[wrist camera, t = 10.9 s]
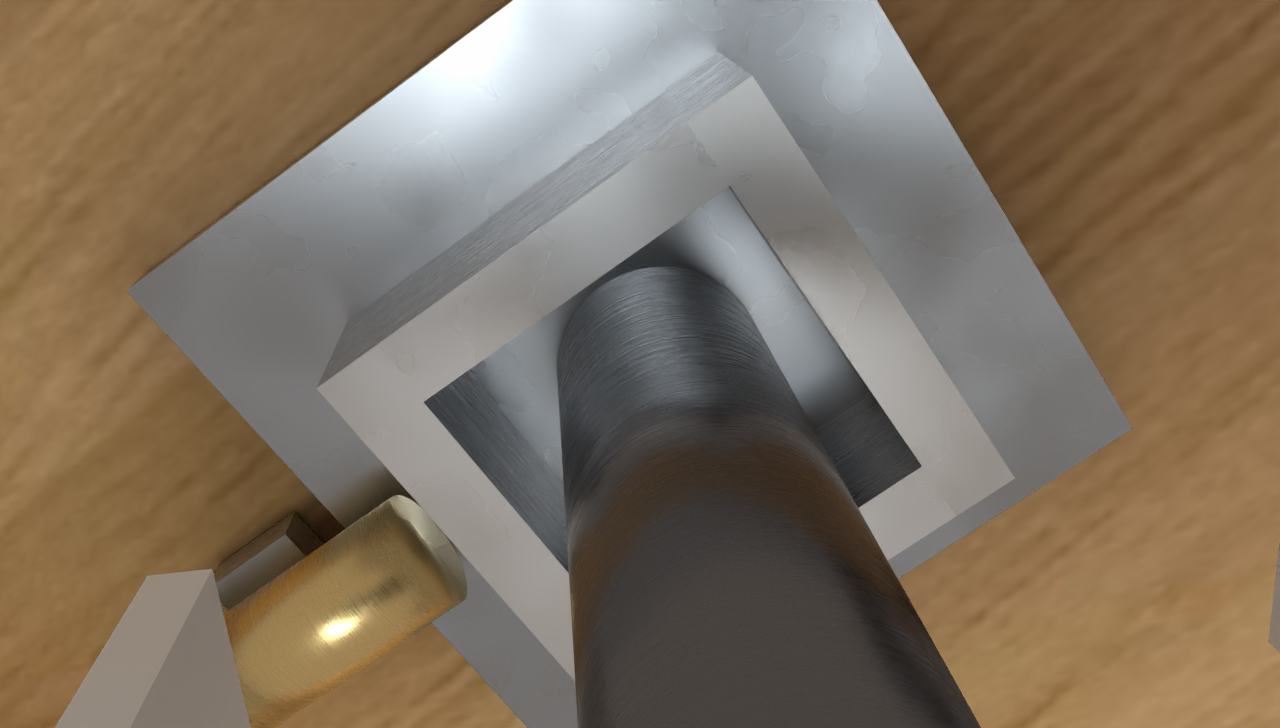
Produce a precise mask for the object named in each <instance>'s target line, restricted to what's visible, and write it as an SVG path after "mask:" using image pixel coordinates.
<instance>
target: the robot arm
mask: <svg viewBox="0 0 1280 728" xmlns="http://www.w3.org/2000/svg"><path fill="white" fill-rule="evenodd" d="M1269 642H1270V643H1271V644H1272V645H1273V646H1274V647H1275V648H1276V649H1277V651H1278V652H1279V653H1280V544H1279V552H1278V561H1277V570H1276V579H1275V588H1274V597H1273V606H1272V615H1271V624H1270V633H1269ZM55 728H251V727H250V722H249V718H248V714H247V710H246V706H245V702H244V698H243V694H242V689H241V685H240V681H239V677H238V673H237V669H236V665H235V660H234V656H233V652H232V648H231V644H230V640H229V636H228V632H227V627H226V623H225V619H224V615H223V611H222V607H221V603H220V598H219V594H218V590H217V586H216V582H215V578H214V574H213V570H212V569H205V570H196V571H187V572H178V573H169V574H160V575H150V576H147V577H146V579H145V581H144V582H143V584H142V585H141V587H140V589H139V590H138V592H137V594H136V595H135V597H134V599H133V600H132V602H131V604H130V605H129V607H128V608H127V610H126V612H125V613H124V615H123V617H122V618H121V620H120V622H119V623H118V625H117V627H116V628H115V630H114V631H113V633H112V635H111V636H110V638H109V640H108V641H107V643H106V645H105V646H104V648H103V650H102V651H101V653H100V654H99V656H98V658H97V659H96V661H95V663H94V664H93V666H92V668H91V669H90V671H89V672H88V674H87V676H86V677H85V679H84V681H83V682H82V684H81V686H80V687H79V689H78V691H77V692H76V694H75V695H74V697H73V699H72V700H71V702H70V704H69V705H68V707H67V709H66V710H65V712H64V714H63V715H62V717H61V718H60V720H59V722H58V723H57V725H56V727H55Z"/></svg>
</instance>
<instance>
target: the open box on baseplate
mask: <svg viewBox="0 0 1280 728" xmlns="http://www.w3.org/2000/svg"><path fill="white" fill-rule="evenodd" d="M665 266H667V267H678V268H684V269H688V270H693V271H696V272H698V273H701V274H704V275H706V276H708V277H710V278H712V279H714V280H716V281H718V282H719V283H721V284H722V285H723V286H725V287H726V288H728V289H729V290H730V291H731V292H732V293H733V294H734V295H735V296H736V297H738V299H739V300H740V301H741V302H742V304H743V305H744V306H745V307H746V309H747V310H748V312H749V314H750V315H751V317H752V319H753V320H754V322H755V324H756V326H757V328H758V329H759V331H760V333H761V335H762V336H763V338H764V340H765V342H766V344H767V345H768V347H769V349H770V351H771V353H772V354H773V356H774V358H775V360H776V362H777V363H778V365H779V367H780V369H781V371H782V372H783V374H784V376H785V378H786V379H787V381H788V383H789V385H790V387H791V388H792V390H793V392H794V394H795V396H796V397H797V399H798V401H799V403H800V405H801V406H802V408H803V410H804V412H805V414H806V415H807V417H808V419H809V421H810V422H811V424H812V426H813V428H814V430H815V431H816V433H817V435H818V437H819V439H820V440H821V442H822V444H823V446H824V448H825V449H826V451H827V453H828V455H829V457H830V458H831V460H832V462H833V464H834V465H835V467H836V469H837V471H838V473H839V474H840V476H841V478H842V480H843V482H844V483H845V485H846V487H847V489H848V491H849V492H850V494H851V496H852V498H853V499H854V501H855V503H856V505H857V507H858V508H859V510H860V512H861V514H862V516H863V517H864V519H865V521H866V523H867V525H868V526H869V528H870V530H871V532H872V534H873V535H874V537H875V539H876V541H877V542H878V544H879V546H880V548H881V550H882V551H883V553H884V555H885V557H886V559H887V560H888V562H889V564H890V566H891V568H892V569H893V571H894V573H895V575H896V577H897V578H898V579H899V578H900V577H902V576H903V575H905V574H907V573H908V572H910V571H911V570H913V569H914V568H916V567H917V566H919V565H921V564H922V563H924V562H925V561H927V560H928V559H930V558H931V557H933V556H935V555H936V554H938V553H939V552H941V551H942V550H944V549H946V548H947V547H949V546H950V545H952V544H953V543H955V542H956V541H958V540H960V539H961V538H963V537H964V536H966V535H967V534H969V533H971V532H972V531H974V530H975V529H977V528H978V527H980V526H981V525H983V524H985V523H986V522H988V521H989V520H991V519H992V518H994V517H995V516H997V515H999V514H1000V513H1002V512H1003V511H1005V510H1006V509H1008V508H1010V507H1011V506H1013V505H1014V504H1016V503H1017V502H1019V501H1020V500H1022V499H1024V498H1025V497H1027V496H1028V495H1030V494H1031V493H1033V492H1035V491H1036V490H1038V489H1039V488H1041V487H1042V486H1044V485H1045V484H1047V483H1049V482H1050V481H1052V480H1053V479H1055V478H1056V477H1058V476H1059V475H1061V474H1063V473H1064V472H1066V471H1067V470H1069V469H1070V468H1072V467H1074V466H1075V465H1077V464H1078V463H1080V462H1081V461H1083V460H1084V459H1086V458H1088V457H1089V456H1091V455H1092V454H1094V453H1095V452H1097V451H1098V450H1100V449H1102V448H1103V447H1105V446H1106V445H1108V444H1109V443H1111V442H1113V441H1114V440H1116V439H1117V438H1119V437H1120V436H1122V435H1123V434H1125V433H1127V432H1128V431H1130V430H1131V429H1133V428H1132V426H1131V425H1130V423H1129V421H1128V420H1127V418H1126V416H1125V415H1124V413H1123V411H1122V410H1121V408H1120V406H1119V404H1118V403H1117V401H1116V399H1115V398H1114V396H1113V394H1112V393H1111V391H1110V389H1109V388H1108V386H1107V384H1106V383H1105V381H1104V379H1103V378H1102V376H1101V374H1100V373H1099V371H1098V369H1097V368H1096V366H1095V364H1094V363H1093V361H1092V359H1091V358H1090V356H1089V354H1088V353H1087V351H1086V349H1085V348H1084V346H1083V344H1082V343H1081V341H1080V339H1079V338H1078V336H1077V334H1076V333H1075V331H1074V329H1073V328H1072V326H1071V324H1070V323H1069V321H1068V319H1067V318H1066V316H1065V314H1064V313H1063V311H1062V309H1061V307H1060V306H1059V304H1058V302H1057V301H1056V299H1055V297H1054V296H1053V294H1052V292H1051V291H1050V289H1049V287H1048V286H1047V284H1046V282H1045V281H1044V279H1043V277H1042V276H1041V274H1040V272H1039V271H1038V269H1037V267H1036V266H1035V264H1034V262H1033V261H1032V259H1031V257H1030V256H1029V254H1028V252H1027V251H1026V249H1025V247H1024V246H1023V244H1022V242H1021V241H1020V239H1019V237H1018V236H1017V234H1016V232H1015V231H1014V229H1013V227H1012V226H1011V224H1010V222H1009V221H1008V219H1007V217H1006V216H1005V214H1004V212H1003V210H1002V209H1001V207H1000V205H999V204H998V202H997V200H996V199H995V197H994V195H993V194H992V192H991V190H990V189H989V187H988V185H987V184H986V182H985V180H984V179H983V177H982V175H981V174H980V172H979V170H978V169H977V167H976V165H975V164H974V162H973V160H972V159H971V157H970V155H969V154H968V152H967V150H966V149H965V147H964V145H963V144H962V142H961V140H960V139H959V137H958V135H957V134H956V132H955V130H954V129H953V127H952V125H951V124H950V122H949V120H948V119H947V117H946V115H945V114H944V112H943V110H942V108H941V107H940V105H939V103H938V102H937V100H936V98H935V97H934V95H933V93H932V92H931V90H930V88H929V87H928V85H927V83H926V82H925V80H924V78H923V77H922V75H921V73H920V72H919V70H918V68H917V67H916V65H915V63H914V62H913V60H912V58H911V57H910V55H909V53H908V52H907V50H906V48H905V47H904V45H903V43H902V42H901V40H900V38H899V37H898V35H897V33H896V32H895V30H894V28H893V27H892V25H891V23H890V22H889V20H888V18H887V17H886V15H885V13H884V11H883V10H882V8H881V6H880V5H879V3H878V1H877V0H509V1H508V2H507V3H505V4H504V5H503V6H501V7H500V8H499V9H497V10H496V11H495V12H493V13H492V14H491V15H489V16H488V17H487V18H485V19H484V20H483V21H481V22H480V23H479V24H477V25H476V26H475V27H473V28H472V29H471V30H469V31H468V32H467V33H465V34H464V35H463V36H461V37H460V38H459V39H457V40H456V41H455V42H453V43H452V44H451V45H449V46H448V47H447V48H445V49H444V50H443V51H441V52H440V53H439V54H437V55H436V56H435V57H433V58H432V59H431V60H429V61H428V62H427V63H425V64H424V65H423V66H421V67H420V68H419V69H417V70H416V71H415V72H413V73H412V74H411V75H409V76H408V77H407V78H405V79H404V80H403V81H401V82H400V83H399V84H397V85H396V86H395V87H393V88H392V89H391V90H389V91H388V92H387V93H385V94H384V95H383V96H381V97H380V98H379V99H377V100H376V101H375V102H373V103H372V104H371V105H369V106H368V107H367V108H365V109H364V110H363V111H361V112H360V113H359V114H357V115H356V116H355V117H353V118H352V119H351V120H350V121H348V122H347V123H346V124H344V125H343V126H342V127H340V128H339V129H338V130H336V131H335V132H334V133H332V134H331V135H330V136H328V137H327V138H326V139H324V140H323V141H322V142H320V143H319V144H318V145H316V146H315V147H314V148H312V149H311V150H310V151H308V152H307V153H306V154H304V155H303V156H302V157H300V158H299V159H298V160H296V161H295V162H294V163H292V164H291V165H290V166H288V167H287V168H286V169H284V170H283V171H282V172H280V173H279V174H278V175H276V176H275V177H274V178H272V179H271V180H270V181H268V182H267V183H266V184H264V185H263V186H262V187H260V188H259V189H258V190H256V191H255V192H254V193H252V194H251V195H250V196H248V197H247V198H246V199H244V200H243V201H242V202H240V203H239V204H238V205H236V206H235V207H234V208H232V209H231V210H230V211H228V212H227V213H226V214H224V215H223V216H222V217H220V218H219V219H218V220H216V221H215V222H214V223H212V224H211V225H210V226H208V227H207V228H206V229H204V230H203V231H202V232H200V233H199V234H198V235H196V236H195V237H194V238H192V239H191V240H190V241H188V242H187V243H186V244H184V245H183V246H182V247H180V248H179V249H178V250H176V251H175V252H174V253H172V254H171V255H170V256H168V257H167V258H166V259H164V260H163V261H162V262H160V263H159V264H158V265H157V266H155V267H154V268H153V269H151V270H150V271H149V272H147V273H146V274H145V275H143V276H142V277H141V278H140V279H139V280H138V281H137V282H135V283H134V284H133V285H132V286H131V287H130V288H129V289H128V290H127V292H128V293H129V294H130V295H131V296H132V297H133V298H134V299H135V301H136V302H137V303H138V304H139V305H140V306H141V307H142V308H143V309H144V310H145V311H146V313H147V314H148V315H149V316H150V317H151V318H152V319H153V320H154V321H155V322H156V323H157V325H158V326H159V327H160V328H161V329H162V330H163V331H164V332H165V333H166V334H167V335H168V337H169V338H170V339H171V340H172V341H173V342H174V343H175V344H176V345H177V346H178V347H179V348H180V350H181V351H182V352H183V353H184V354H185V355H186V356H187V357H188V358H189V359H190V360H191V362H192V363H193V364H194V365H195V366H196V367H197V368H198V369H199V370H200V371H201V372H202V374H203V375H204V376H205V377H206V378H207V379H208V380H209V381H210V382H211V383H212V384H213V386H214V387H215V388H216V389H217V390H218V391H219V392H220V393H221V394H222V395H223V396H224V397H225V399H226V400H227V401H228V402H229V403H230V404H231V405H232V406H233V407H234V408H235V409H236V411H237V412H238V413H239V414H240V415H241V416H242V417H243V418H244V419H245V420H246V421H247V423H248V424H249V425H250V426H251V427H252V428H253V429H254V430H255V431H256V432H257V433H258V434H259V436H260V437H261V438H262V439H263V440H264V441H265V442H266V443H267V444H268V445H269V446H270V448H271V449H272V450H273V451H274V452H275V453H276V454H277V455H278V456H279V457H280V458H281V460H282V461H283V462H284V463H285V464H286V465H287V466H288V467H289V468H290V469H291V470H292V472H293V473H294V474H295V475H296V476H297V477H298V478H299V479H300V480H301V481H302V482H303V483H304V485H305V486H306V487H307V488H308V489H309V490H310V491H311V492H312V493H313V494H314V495H315V497H316V498H317V499H318V500H319V501H320V502H321V503H322V504H323V505H324V506H325V507H326V509H327V510H328V511H329V512H330V513H331V514H332V515H333V516H334V517H335V518H336V519H337V521H338V522H339V523H340V524H341V525H342V526H343V527H344V528H345V530H343V531H342V532H341V533H339V534H338V535H336V536H335V537H333V538H332V539H330V540H329V541H328V542H326V543H325V544H324V543H323V542H322V541H321V539H320V538H319V537H318V536H317V535H316V534H315V533H314V532H313V531H312V530H311V529H310V528H309V527H308V525H307V524H306V523H305V522H304V521H303V520H302V519H301V518H300V517H299V516H298V515H297V514H296V513H295V512H293V513H291V514H290V515H289V516H287V517H286V518H284V519H283V520H282V521H280V522H279V523H277V524H276V525H274V526H273V527H272V528H270V529H269V530H267V531H266V532H264V533H263V534H262V535H260V536H259V537H257V538H256V539H254V540H253V541H252V542H250V543H249V544H247V545H246V546H245V547H243V548H242V549H240V550H239V551H237V552H236V553H235V554H233V555H232V556H230V557H229V558H227V559H226V560H225V561H223V562H222V563H220V564H219V566H218V568H217V570H216V572H215V574H214V578H215V582H216V586H217V590H218V594H219V598H220V602H221V603H222V604H223V605H224V606H225V607H226V608H227V609H228V611H227V612H226V613H224V614H223V615H224V619H225V623H226V627H227V632H228V636H229V640H230V644H231V648H232V652H233V656H234V660H235V665H236V669H237V673H238V677H239V681H240V685H241V689H242V694H243V698H244V702H245V706H246V710H247V714H248V718H249V722H250V727H251V728H276V727H278V726H279V725H281V724H282V723H284V722H285V721H287V720H288V719H290V718H291V717H292V716H294V715H295V714H297V713H298V712H300V711H301V710H303V709H304V708H306V707H307V706H309V705H310V704H312V703H313V702H315V701H316V700H318V699H319V698H321V697H322V696H324V695H325V694H327V693H328V692H329V691H331V690H332V689H334V688H335V687H337V686H338V685H340V684H341V683H343V682H344V681H346V680H347V679H349V678H350V677H352V676H353V675H355V674H356V673H358V672H359V671H361V670H362V669H364V668H365V667H367V666H368V665H369V664H371V663H372V662H374V661H375V660H377V659H378V658H380V657H381V656H383V655H384V654H386V653H387V652H389V651H390V650H392V649H393V648H395V647H396V646H398V645H399V644H401V643H402V642H404V641H405V640H407V639H408V638H409V637H411V636H412V635H414V634H415V633H417V632H418V631H420V630H421V629H423V628H424V627H426V626H427V625H429V624H430V623H432V624H433V625H434V626H435V627H436V628H437V629H438V630H439V632H440V633H441V634H442V635H443V636H444V637H445V638H446V639H447V640H448V641H449V642H450V644H451V645H452V646H453V647H454V648H455V649H456V650H457V651H458V652H459V653H460V654H461V656H462V657H463V658H464V659H465V660H466V661H467V662H468V663H469V664H470V665H471V666H472V667H473V669H474V670H475V671H476V672H477V673H478V674H479V675H480V676H481V677H482V678H483V679H484V681H485V682H486V683H487V684H488V685H489V686H490V687H491V688H492V689H493V690H494V691H495V693H496V694H497V695H498V696H499V697H500V698H501V699H502V700H503V701H504V702H505V703H506V705H507V706H508V707H509V708H510V709H511V710H512V711H513V712H514V713H515V714H516V715H517V716H518V718H519V719H520V720H521V721H522V722H523V723H524V724H525V725H526V726H527V727H528V728H578V721H577V704H576V687H575V670H574V653H573V636H572V619H571V602H570V585H569V568H568V551H567V534H566V517H565V500H564V483H563V466H562V449H561V432H560V415H559V398H558V381H557V357H558V350H559V345H560V341H561V338H562V335H563V333H564V330H565V328H566V326H567V324H568V322H569V320H570V318H571V317H572V315H573V314H574V312H575V311H576V310H577V308H578V307H579V306H580V304H581V303H582V302H583V301H584V300H585V299H586V298H587V297H588V296H589V295H590V294H591V293H593V292H594V291H595V290H596V289H598V288H599V287H600V286H602V285H603V284H605V283H607V282H608V281H610V280H611V279H613V278H616V277H618V276H620V275H622V274H625V273H628V272H631V271H634V270H638V269H643V268H649V267H665Z"/></svg>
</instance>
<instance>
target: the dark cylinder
mask: <svg viewBox="0 0 1280 728" xmlns="http://www.w3.org/2000/svg"><path fill="white" fill-rule="evenodd" d="M557 381H558V398H559V415H560V432H561V449H562V466H563V483H564V500H565V517H566V534H567V551H568V568H569V585H570V602H571V619H572V636H573V653H574V670H575V687H576V704H577V721H578V728H981V727H980V725H979V723H978V722H977V720H976V718H975V716H974V714H973V713H972V711H971V709H970V707H969V705H968V704H967V702H966V700H965V698H964V697H963V695H962V693H961V691H960V689H959V688H958V686H957V684H956V682H955V680H954V679H953V677H952V675H951V673H950V671H949V670H948V668H947V666H946V664H945V662H944V661H943V659H942V657H941V655H940V654H939V652H938V650H937V648H936V646H935V645H934V643H933V641H932V639H931V637H930V636H929V634H928V632H927V630H926V628H925V627H924V625H923V623H922V621H921V620H920V618H919V616H918V614H917V612H916V611H915V609H914V607H913V605H912V603H911V602H910V600H909V598H908V596H907V594H906V593H905V591H904V589H903V587H902V585H901V584H900V582H899V580H898V578H897V577H896V575H895V573H894V571H893V569H892V568H891V566H890V564H889V562H888V560H887V559H886V557H885V555H884V553H883V551H882V550H881V548H880V546H879V544H878V542H877V541H876V539H875V537H874V535H873V534H872V532H871V530H870V528H869V526H868V525H867V523H866V521H865V519H864V517H863V516H862V514H861V512H860V510H859V508H858V507H857V505H856V503H855V501H854V499H853V498H852V496H851V494H850V492H849V491H848V489H847V487H846V485H845V483H844V482H843V480H842V478H841V476H840V474H839V473H838V471H837V469H836V467H835V465H834V464H833V462H832V460H831V458H830V457H829V455H828V453H827V451H826V449H825V448H824V446H823V444H822V442H821V440H820V439H819V437H818V435H817V433H816V431H815V430H814V428H813V426H812V424H811V422H810V421H809V419H808V417H807V415H806V414H805V412H804V410H803V408H802V406H801V405H800V403H799V401H798V399H797V397H796V396H795V394H794V392H793V390H792V388H791V387H790V385H789V383H788V381H787V379H786V378H785V376H784V374H783V372H782V371H781V369H780V367H779V365H778V363H777V362H776V360H775V358H774V356H773V354H772V353H771V351H770V349H769V347H768V345H767V344H766V342H765V340H764V338H763V336H762V335H761V333H760V331H759V329H758V328H757V326H756V324H755V322H754V320H753V319H752V317H751V315H750V314H749V312H748V310H747V309H746V307H745V306H744V305H743V304H742V302H741V301H740V300H739V299H738V297H736V296H735V295H734V294H733V293H732V292H731V291H730V290H729V289H728V288H726V287H725V286H723V285H722V284H721V283H719V282H718V281H716V280H714V279H712V278H710V277H708V276H706V275H704V274H701V273H698V272H696V271H693V270H688V269H684V268H678V267H667V266H665V267H649V268H643V269H638V270H634V271H631V272H628V273H625V274H622V275H620V276H618V277H616V278H613V279H611V280H610V281H608V282H607V283H605V284H603V285H602V286H600V287H599V288H598V289H596V290H595V291H594V292H593V293H591V294H590V295H589V296H588V297H587V298H586V299H585V300H584V301H583V302H582V303H581V304H580V306H579V307H578V308H577V310H576V311H575V312H574V314H573V315H572V317H571V318H570V320H569V322H568V324H567V326H566V328H565V330H564V333H563V335H562V338H561V341H560V345H559V350H558V357H557Z"/></svg>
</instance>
